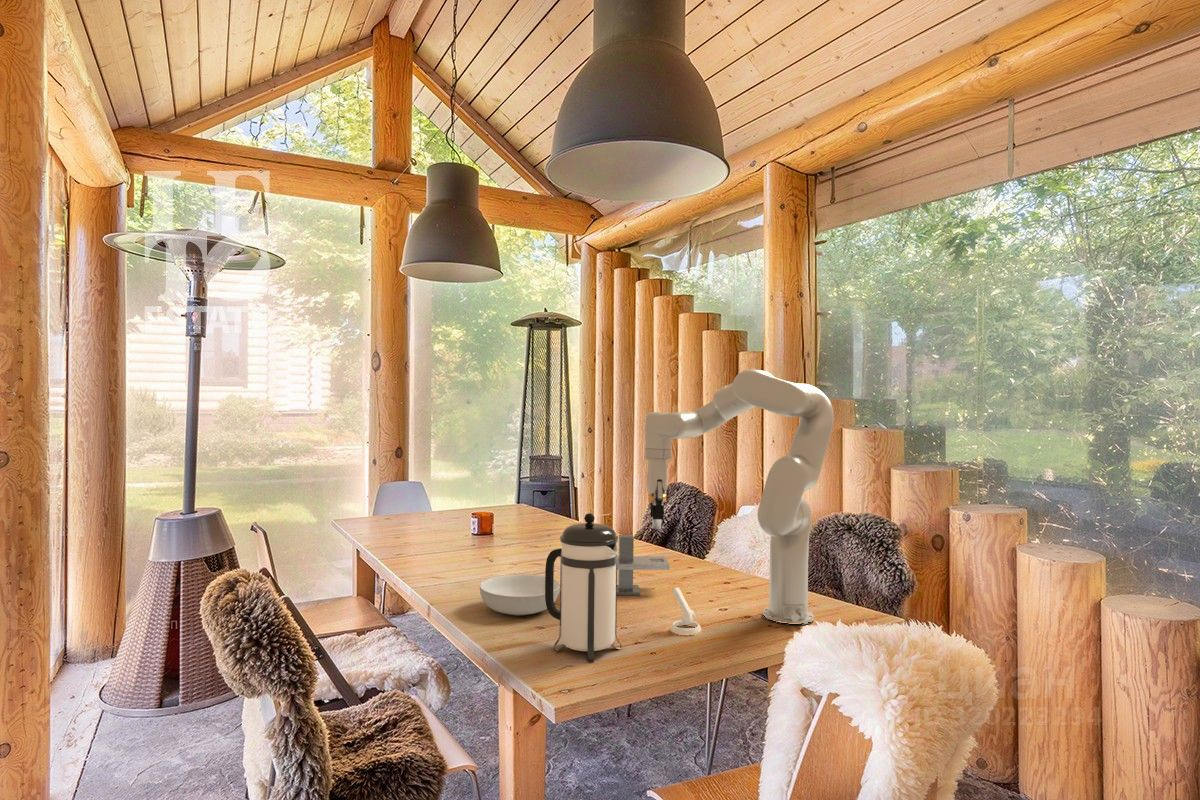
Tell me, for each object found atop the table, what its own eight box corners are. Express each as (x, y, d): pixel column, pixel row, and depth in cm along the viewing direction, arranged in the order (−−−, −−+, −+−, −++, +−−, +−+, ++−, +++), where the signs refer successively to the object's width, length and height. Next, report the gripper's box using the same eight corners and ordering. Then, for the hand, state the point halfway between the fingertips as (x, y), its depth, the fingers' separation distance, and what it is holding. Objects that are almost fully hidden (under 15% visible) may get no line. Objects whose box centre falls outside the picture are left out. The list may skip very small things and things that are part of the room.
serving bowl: (483, 626, 164) (484, 597, 164) (475, 601, 184) (476, 576, 184) (567, 620, 170) (567, 592, 170) (550, 596, 190) (551, 572, 190)
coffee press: (619, 636, 158) (620, 507, 158) (623, 662, 142) (625, 519, 142) (544, 636, 157) (546, 507, 157) (540, 662, 141) (542, 518, 141)
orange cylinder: (648, 530, 194) (649, 495, 194) (646, 526, 199) (647, 492, 199) (666, 530, 194) (667, 495, 194) (664, 526, 199) (665, 492, 199)
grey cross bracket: (669, 596, 191) (669, 539, 191) (612, 596, 191) (613, 539, 191) (664, 586, 201) (665, 532, 201) (610, 586, 201) (611, 532, 201)
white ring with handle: (659, 599, 170) (683, 585, 169) (683, 644, 165) (707, 630, 164) (650, 601, 163) (674, 586, 162) (675, 648, 159) (700, 633, 157)
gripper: (642, 452, 205) (641, 512, 205) (648, 456, 188) (647, 522, 188) (667, 452, 205) (665, 513, 205) (675, 457, 188) (674, 523, 188)
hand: (656, 517), depth 196 cm, fingers closed on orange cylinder, 4 cm apart
